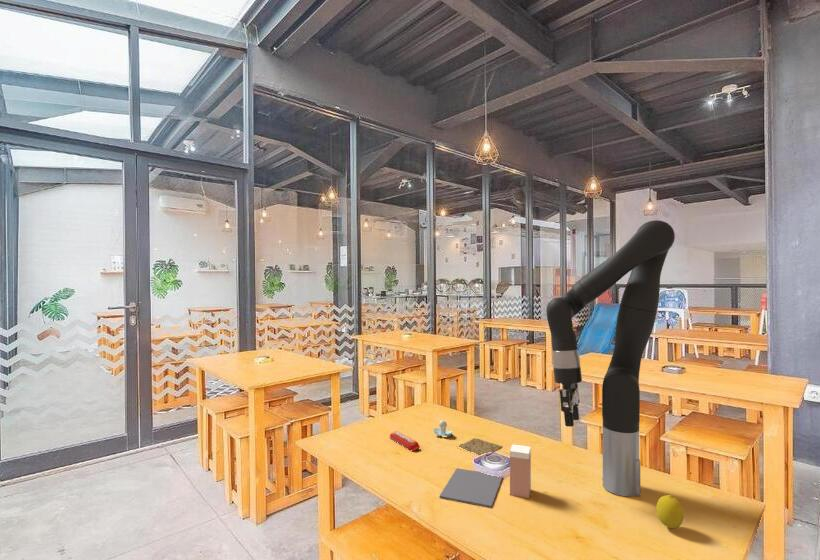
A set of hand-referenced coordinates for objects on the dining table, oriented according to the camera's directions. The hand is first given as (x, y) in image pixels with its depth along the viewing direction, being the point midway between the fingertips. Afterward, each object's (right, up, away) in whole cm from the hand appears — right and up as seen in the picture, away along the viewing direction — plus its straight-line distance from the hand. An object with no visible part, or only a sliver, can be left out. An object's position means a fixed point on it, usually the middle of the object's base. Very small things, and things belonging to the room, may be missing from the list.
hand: (572, 422), depth 123 cm
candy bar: (-49, -18, +30) cm, 60 cm away
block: (-16, -18, -5) cm, 24 cm away
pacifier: (-34, -18, +38) cm, 54 cm away
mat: (-29, -18, -2) cm, 34 cm away
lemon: (+14, -18, -22) cm, 32 cm away
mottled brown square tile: (-22, -18, +27) cm, 39 cm away
